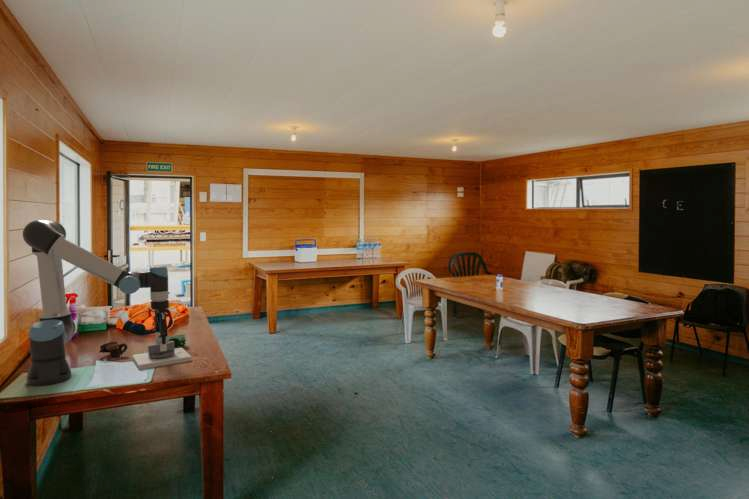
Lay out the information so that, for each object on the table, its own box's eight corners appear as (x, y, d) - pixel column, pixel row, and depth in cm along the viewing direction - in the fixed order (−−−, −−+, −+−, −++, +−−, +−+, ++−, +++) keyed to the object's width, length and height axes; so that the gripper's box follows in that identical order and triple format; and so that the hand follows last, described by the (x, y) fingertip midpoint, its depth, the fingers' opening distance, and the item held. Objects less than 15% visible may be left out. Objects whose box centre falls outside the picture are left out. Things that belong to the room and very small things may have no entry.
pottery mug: (99, 362, 220) (95, 345, 222) (105, 366, 228) (100, 349, 230) (128, 353, 224) (123, 336, 226) (132, 356, 233) (127, 340, 235)
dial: (150, 360, 214) (150, 347, 214) (146, 354, 223) (145, 342, 223) (176, 356, 220) (176, 343, 220) (171, 350, 229) (171, 338, 229)
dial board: (138, 369, 208) (138, 364, 208) (132, 359, 223) (132, 354, 223) (191, 360, 221) (191, 356, 221) (182, 351, 236) (181, 347, 235)
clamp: (166, 358, 239) (158, 344, 235) (165, 352, 244) (157, 338, 240) (189, 346, 243) (182, 332, 239) (188, 341, 248) (180, 327, 244)
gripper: (173, 302, 213) (175, 352, 215) (163, 295, 231) (165, 341, 233) (155, 304, 209) (157, 355, 211) (146, 297, 227) (148, 344, 228)
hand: (161, 348), depth 222 cm, fingers open, 9 cm apart
